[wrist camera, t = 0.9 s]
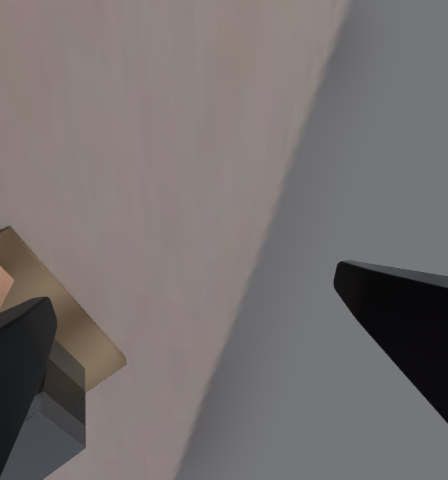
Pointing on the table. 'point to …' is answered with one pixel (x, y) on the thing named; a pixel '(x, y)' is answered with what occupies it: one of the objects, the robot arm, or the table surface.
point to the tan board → (58, 310)
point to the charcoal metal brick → (51, 421)
